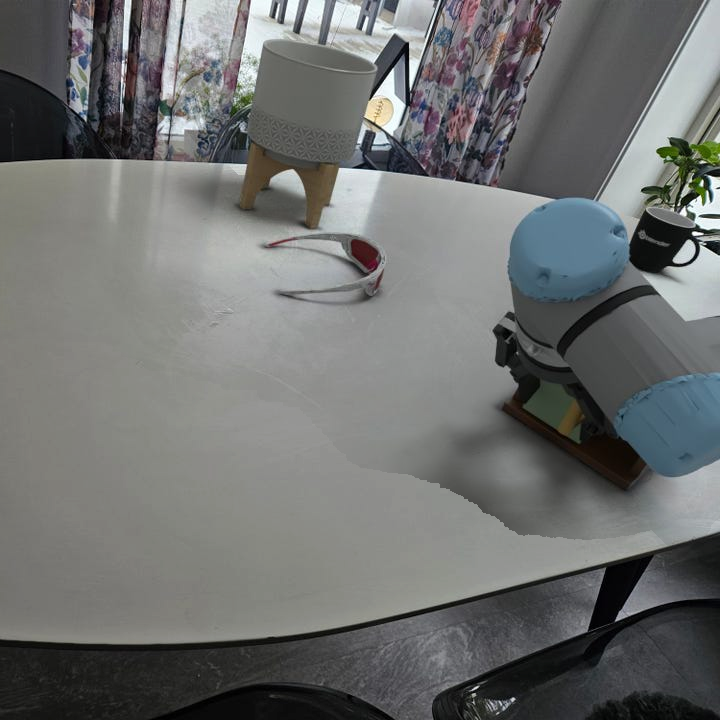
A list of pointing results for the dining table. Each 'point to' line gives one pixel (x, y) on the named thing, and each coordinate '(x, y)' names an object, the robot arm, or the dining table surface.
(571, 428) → the sliding door
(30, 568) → the dining table surface
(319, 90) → the planter
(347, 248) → the sunglasses
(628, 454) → the cupboard
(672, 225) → the mug
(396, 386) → the dining table surface
